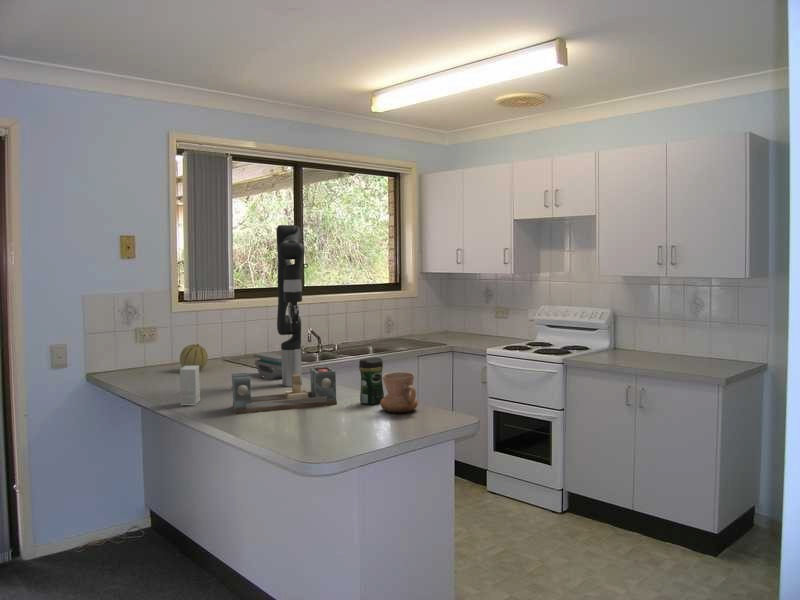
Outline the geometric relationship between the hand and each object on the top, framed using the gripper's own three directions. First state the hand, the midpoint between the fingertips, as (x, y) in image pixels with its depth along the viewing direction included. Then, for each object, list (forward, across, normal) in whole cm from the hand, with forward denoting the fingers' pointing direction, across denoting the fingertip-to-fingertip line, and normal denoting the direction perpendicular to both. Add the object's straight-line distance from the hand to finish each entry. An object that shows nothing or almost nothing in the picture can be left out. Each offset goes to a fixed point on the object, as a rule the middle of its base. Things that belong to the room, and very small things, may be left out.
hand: (294, 331), depth 267 cm
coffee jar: (+29, +18, +28) cm, 44 cm away
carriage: (+27, +8, -1) cm, 28 cm away
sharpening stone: (+29, -60, -1) cm, 67 cm away
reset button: (+20, +8, +10) cm, 23 cm away
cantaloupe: (+29, -96, -39) cm, 108 cm away
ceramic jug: (+29, +36, +34) cm, 58 cm away
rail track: (+29, +8, -6) cm, 31 cm away
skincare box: (+29, -11, -42) cm, 52 cm away
